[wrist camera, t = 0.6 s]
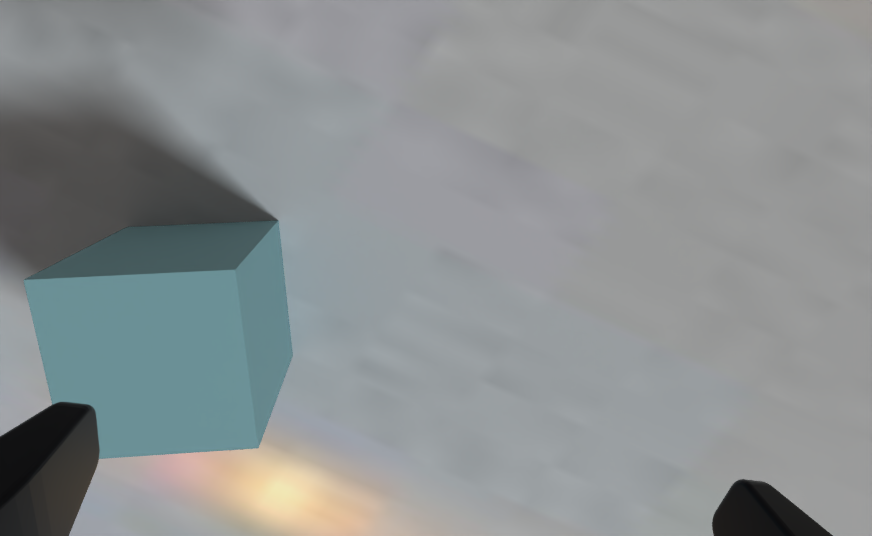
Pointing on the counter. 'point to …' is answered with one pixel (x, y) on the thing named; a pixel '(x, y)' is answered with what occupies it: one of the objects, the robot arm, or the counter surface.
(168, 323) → the teal block
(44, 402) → the counter surface
